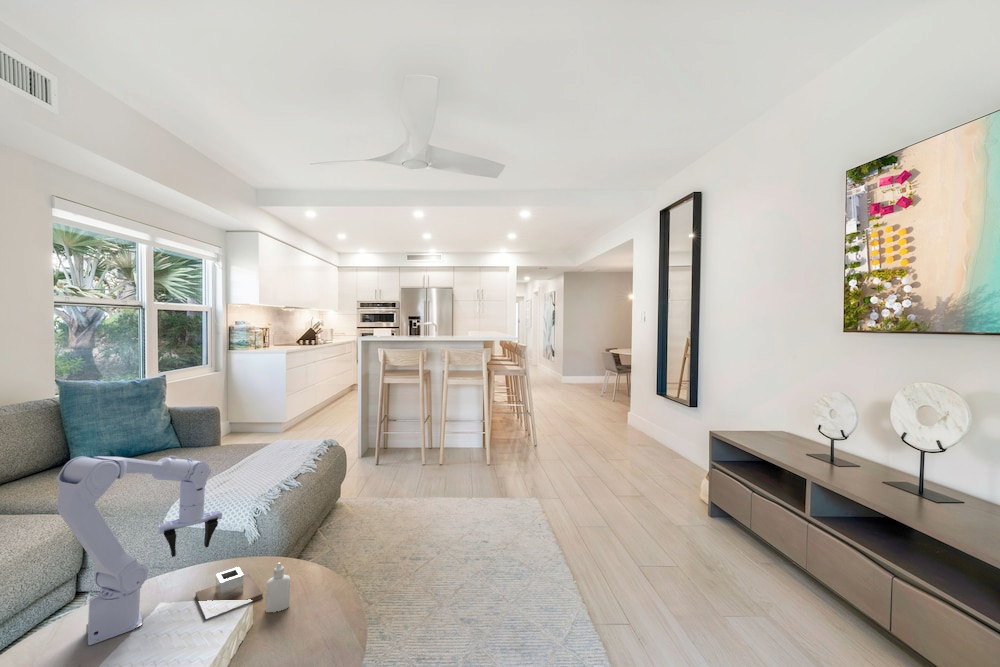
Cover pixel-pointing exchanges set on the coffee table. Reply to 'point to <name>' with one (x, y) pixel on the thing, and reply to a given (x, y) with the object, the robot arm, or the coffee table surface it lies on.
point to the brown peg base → (249, 592)
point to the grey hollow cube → (229, 583)
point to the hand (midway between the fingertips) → (190, 550)
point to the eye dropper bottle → (278, 590)
